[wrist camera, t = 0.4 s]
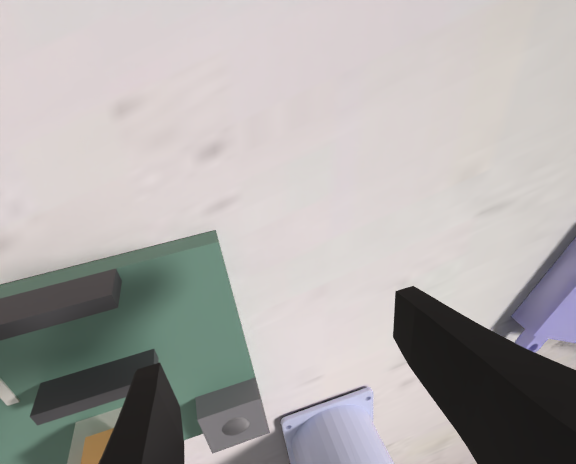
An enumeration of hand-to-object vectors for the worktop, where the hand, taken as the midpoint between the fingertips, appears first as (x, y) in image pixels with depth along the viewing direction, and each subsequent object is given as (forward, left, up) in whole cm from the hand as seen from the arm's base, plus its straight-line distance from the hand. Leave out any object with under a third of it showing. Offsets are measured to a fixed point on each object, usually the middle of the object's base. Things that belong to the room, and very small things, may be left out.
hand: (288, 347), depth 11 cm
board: (-9, +10, -10) cm, 16 cm away
